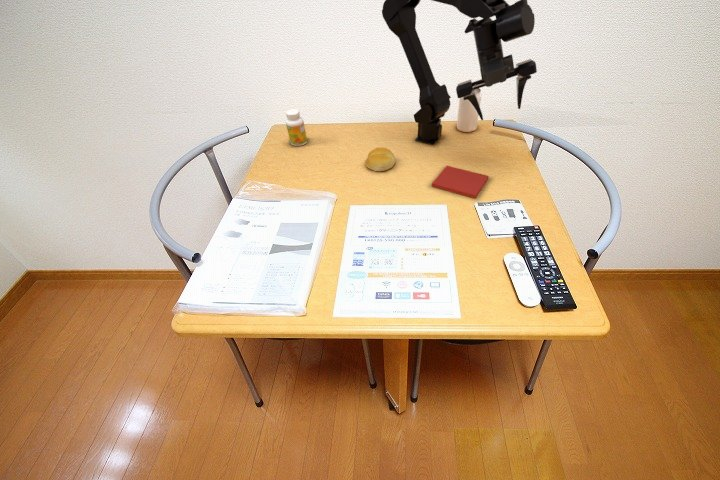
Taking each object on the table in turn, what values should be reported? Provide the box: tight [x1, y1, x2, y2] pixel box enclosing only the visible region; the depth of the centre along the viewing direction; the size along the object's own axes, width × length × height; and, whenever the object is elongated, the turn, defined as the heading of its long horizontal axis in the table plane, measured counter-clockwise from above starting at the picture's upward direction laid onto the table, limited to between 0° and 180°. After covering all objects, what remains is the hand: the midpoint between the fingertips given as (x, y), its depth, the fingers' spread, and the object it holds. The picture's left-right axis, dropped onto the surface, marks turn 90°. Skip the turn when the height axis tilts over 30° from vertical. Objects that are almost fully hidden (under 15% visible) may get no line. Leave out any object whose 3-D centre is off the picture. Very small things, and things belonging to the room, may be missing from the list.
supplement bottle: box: [285, 108, 308, 147], centre depth 112 cm, size 5×5×10 cm
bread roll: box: [364, 146, 396, 172], centre depth 103 cm, size 8×9×4 cm
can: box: [456, 88, 482, 133], centre depth 114 cm, size 6×6×12 cm
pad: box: [431, 165, 489, 199], centre depth 96 cm, size 12×10×1 cm
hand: (500, 114), depth 94 cm, fingers open, 9 cm apart
